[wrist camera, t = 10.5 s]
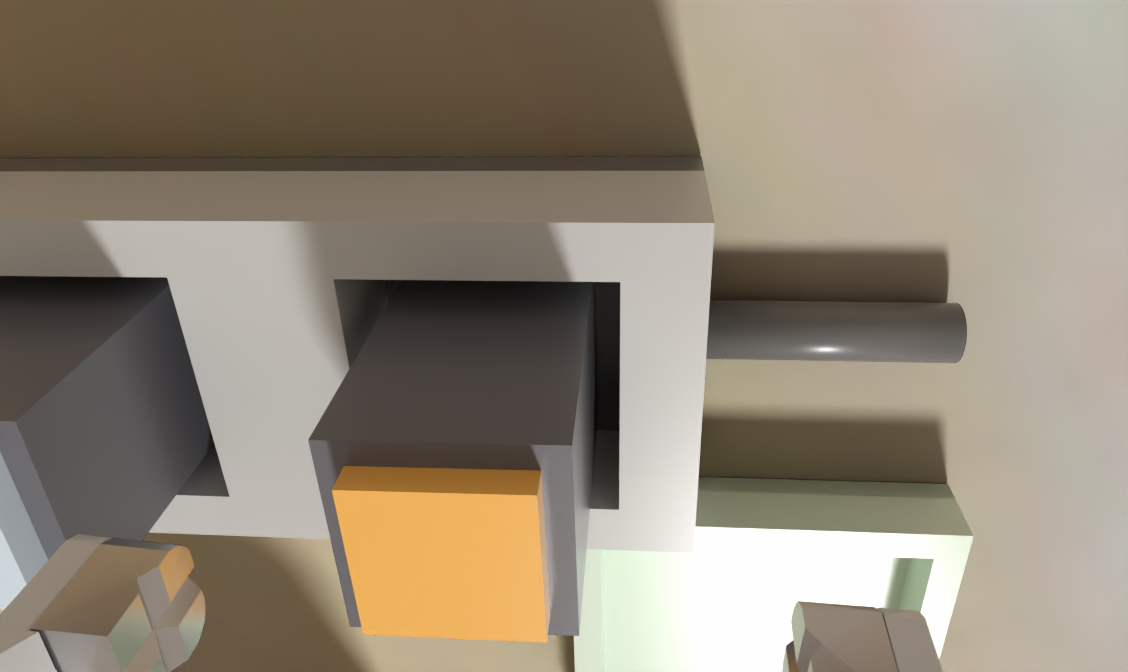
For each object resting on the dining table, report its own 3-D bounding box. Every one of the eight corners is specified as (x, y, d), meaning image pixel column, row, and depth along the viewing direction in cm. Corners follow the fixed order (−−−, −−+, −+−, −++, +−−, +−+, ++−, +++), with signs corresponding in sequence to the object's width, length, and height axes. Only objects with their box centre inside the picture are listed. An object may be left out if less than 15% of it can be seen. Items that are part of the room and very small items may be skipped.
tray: (948, 483, 22) (973, 535, 21) (887, 725, 27) (904, 783, 26) (575, 473, 23) (569, 522, 22) (581, 709, 28) (577, 764, 26)
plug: (594, 260, 19) (569, 469, 12) (597, 413, 21) (576, 663, 14) (412, 259, 19) (294, 463, 13) (433, 410, 21) (339, 653, 15)
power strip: (981, 155, 18) (1076, 238, 14) (916, 453, 22) (976, 583, 18) (-54, 158, 20) (-227, 230, 16) (54, 429, 24) (-64, 542, 20)
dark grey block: (209, 249, 20) (-10, 443, 13) (247, 399, 22) (74, 632, 15) (40, 248, 20) (-255, 437, 13) (93, 395, 22) (-141, 621, 15)
